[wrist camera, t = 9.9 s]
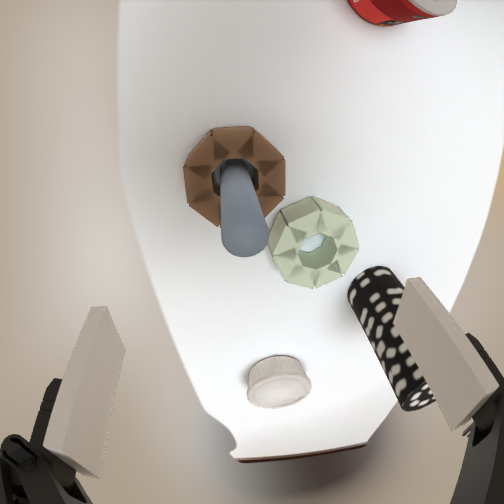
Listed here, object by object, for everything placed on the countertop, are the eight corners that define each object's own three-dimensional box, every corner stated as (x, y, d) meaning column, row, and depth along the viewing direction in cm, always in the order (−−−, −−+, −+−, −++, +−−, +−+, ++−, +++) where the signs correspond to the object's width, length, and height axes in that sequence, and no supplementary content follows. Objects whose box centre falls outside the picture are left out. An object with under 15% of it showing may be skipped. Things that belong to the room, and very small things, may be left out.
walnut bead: (277, 124, 30) (285, 129, 27) (278, 208, 36) (284, 222, 32) (184, 131, 30) (180, 136, 26) (193, 215, 35) (191, 230, 31)
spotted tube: (401, 285, 44) (466, 378, 27) (362, 316, 47) (412, 416, 30) (380, 256, 41) (456, 357, 24) (337, 291, 43) (391, 403, 26)
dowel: (246, 156, 32) (269, 213, 18) (247, 182, 34) (269, 255, 20) (219, 158, 32) (219, 216, 18) (221, 184, 33) (223, 258, 20)
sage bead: (332, 186, 35) (344, 198, 31) (352, 250, 40) (364, 266, 36) (257, 220, 36) (261, 235, 33) (286, 279, 41) (293, 298, 38)
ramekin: (263, 393, 55) (266, 415, 51) (232, 367, 50) (234, 392, 45) (314, 371, 53) (320, 393, 49) (289, 341, 48) (295, 366, 43)
